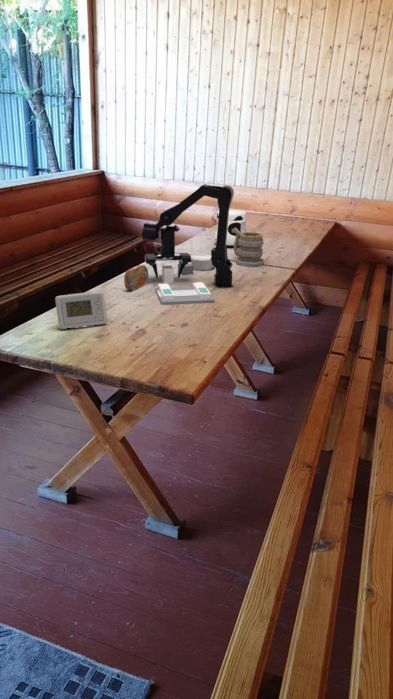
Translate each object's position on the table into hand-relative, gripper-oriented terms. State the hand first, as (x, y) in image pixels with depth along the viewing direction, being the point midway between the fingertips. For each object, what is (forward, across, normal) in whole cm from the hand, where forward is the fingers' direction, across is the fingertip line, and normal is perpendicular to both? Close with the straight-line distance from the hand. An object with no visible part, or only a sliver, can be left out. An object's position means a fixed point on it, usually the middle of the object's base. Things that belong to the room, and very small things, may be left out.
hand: (167, 278), depth 231 cm
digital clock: (+2, +36, +47) cm, 59 cm away
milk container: (+2, -44, -63) cm, 77 cm away
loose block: (+1, -10, -11) cm, 15 cm away
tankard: (+2, -42, -28) cm, 50 cm away
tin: (+2, +14, +7) cm, 16 cm away
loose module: (+1, 0, 0) cm, 1 cm away
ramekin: (+2, -19, -19) cm, 27 cm away
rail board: (+1, -3, +21) cm, 21 cm away
